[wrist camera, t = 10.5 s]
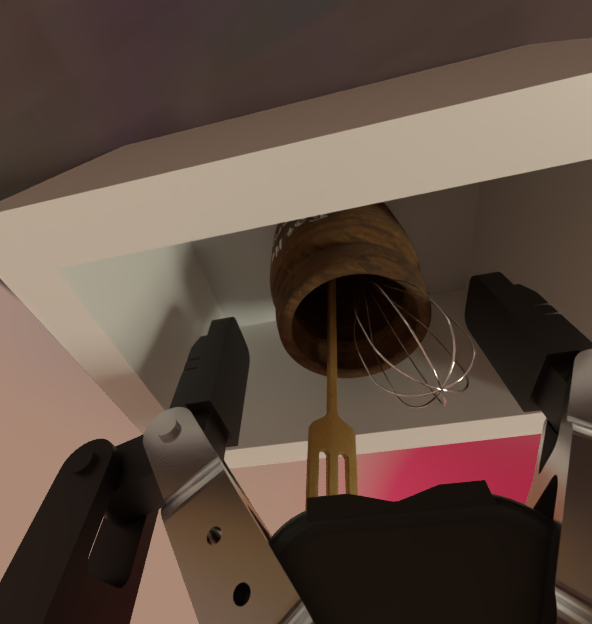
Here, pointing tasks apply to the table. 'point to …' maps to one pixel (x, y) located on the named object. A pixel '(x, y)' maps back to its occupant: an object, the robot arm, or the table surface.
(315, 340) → the utensil holder
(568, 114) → the open rectangular box
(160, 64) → the table surface
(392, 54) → the table surface
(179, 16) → the table surface
